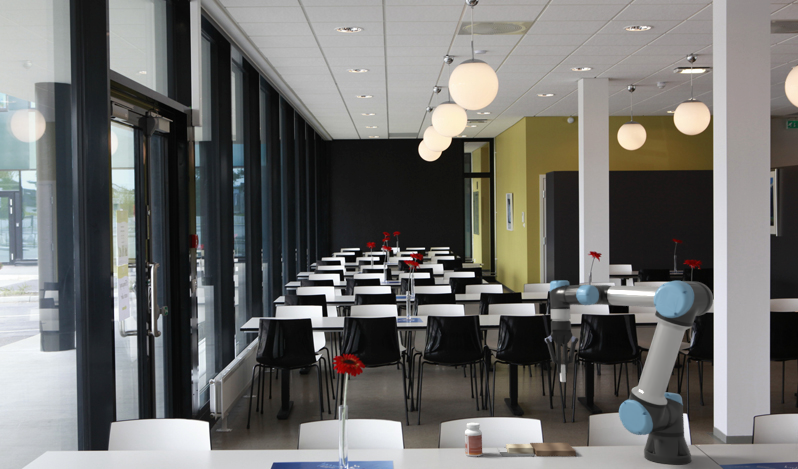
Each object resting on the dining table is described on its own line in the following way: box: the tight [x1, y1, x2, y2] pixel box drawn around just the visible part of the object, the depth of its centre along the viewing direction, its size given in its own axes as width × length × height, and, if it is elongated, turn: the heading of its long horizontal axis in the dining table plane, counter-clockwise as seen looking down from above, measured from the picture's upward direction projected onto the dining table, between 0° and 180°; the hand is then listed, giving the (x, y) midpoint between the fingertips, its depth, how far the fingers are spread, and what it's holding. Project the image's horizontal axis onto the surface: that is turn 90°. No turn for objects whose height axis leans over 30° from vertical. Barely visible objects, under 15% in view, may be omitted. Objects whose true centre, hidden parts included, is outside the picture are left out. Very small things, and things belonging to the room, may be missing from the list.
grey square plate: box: [499, 452, 536, 458], centre depth 224 cm, size 12×12×1 cm
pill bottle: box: [464, 422, 483, 458], centre depth 222 cm, size 6×6×11 cm
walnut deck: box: [529, 442, 577, 457], centre depth 224 cm, size 14×12×2 cm
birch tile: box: [505, 443, 535, 455], centre depth 224 cm, size 9×6×2 cm, turn 89°
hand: (562, 381), depth 235 cm, fingers closed
